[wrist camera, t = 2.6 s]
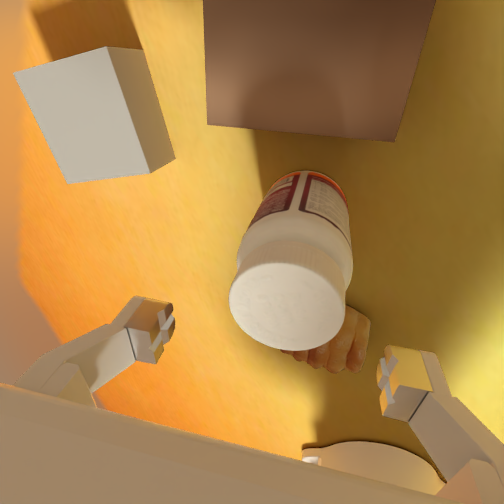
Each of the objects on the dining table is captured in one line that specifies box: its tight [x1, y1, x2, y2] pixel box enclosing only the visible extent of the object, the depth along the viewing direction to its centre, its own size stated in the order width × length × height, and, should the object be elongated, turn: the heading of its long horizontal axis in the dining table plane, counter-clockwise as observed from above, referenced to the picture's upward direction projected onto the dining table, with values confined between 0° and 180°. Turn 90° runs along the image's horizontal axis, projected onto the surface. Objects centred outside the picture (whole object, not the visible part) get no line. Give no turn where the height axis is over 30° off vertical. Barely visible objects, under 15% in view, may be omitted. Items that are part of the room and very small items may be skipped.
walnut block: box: [203, 0, 436, 142], centre depth 15 cm, size 10×10×4 cm
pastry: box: [280, 305, 371, 374], centre depth 27 cm, size 9×7×4 cm
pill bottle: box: [229, 171, 353, 351], centre depth 18 cm, size 6×6×11 cm
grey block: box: [13, 46, 176, 184], centre depth 20 cm, size 7×7×4 cm
